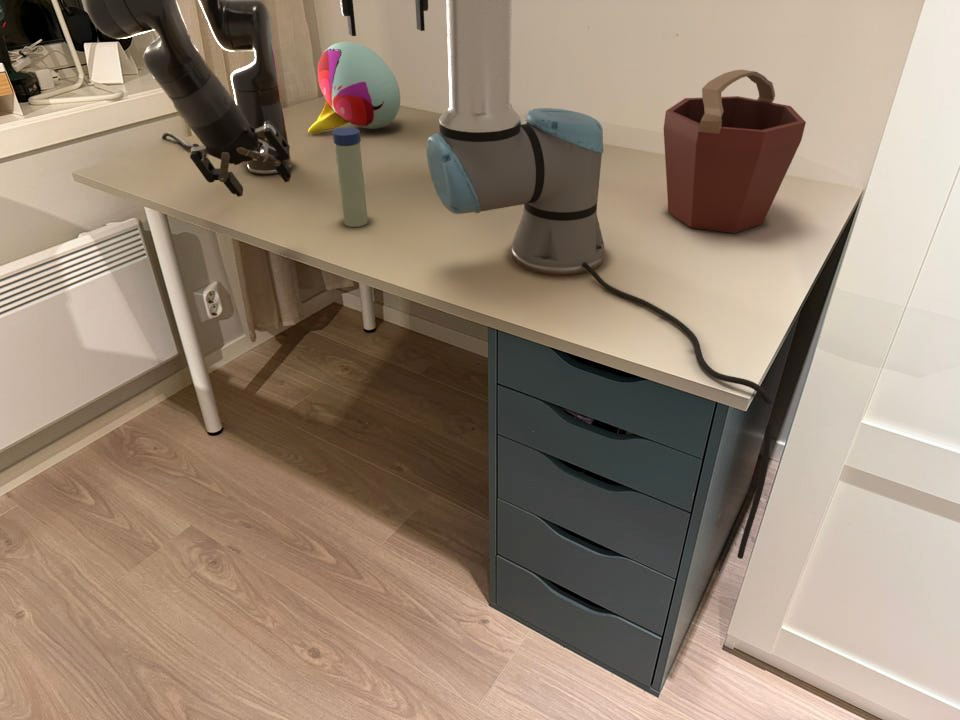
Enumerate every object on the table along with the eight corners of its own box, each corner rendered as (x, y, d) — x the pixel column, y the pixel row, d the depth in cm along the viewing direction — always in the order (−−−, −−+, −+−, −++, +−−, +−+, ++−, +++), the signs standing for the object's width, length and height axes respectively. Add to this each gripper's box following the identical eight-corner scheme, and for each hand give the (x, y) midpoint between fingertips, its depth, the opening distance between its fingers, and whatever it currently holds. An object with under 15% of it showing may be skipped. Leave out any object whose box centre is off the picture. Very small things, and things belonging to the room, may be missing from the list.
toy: (277, 110, 181) (275, 51, 163) (352, 72, 191) (358, 13, 173) (336, 175, 178) (341, 122, 160) (410, 134, 188) (421, 79, 170)
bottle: (346, 217, 132) (335, 130, 123) (369, 217, 132) (360, 130, 123) (342, 227, 128) (331, 137, 119) (366, 226, 128) (356, 137, 119)
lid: (335, 137, 124) (334, 127, 123) (362, 136, 124) (361, 127, 123) (331, 145, 120) (329, 135, 119) (358, 145, 120) (357, 135, 119)
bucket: (710, 250, 119) (740, 96, 105) (622, 208, 134) (638, 69, 120) (804, 218, 129) (843, 75, 115) (713, 183, 145) (736, 53, 131)
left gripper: (253, 76, 103) (304, 158, 117) (167, 104, 106) (227, 181, 119) (249, 109, 99) (303, 190, 113) (160, 138, 101) (223, 213, 115)
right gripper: (437, -101, 131) (441, 24, 143) (302, -99, 123) (318, 33, 135) (451, -100, 125) (454, 30, 137) (310, -98, 117) (326, 40, 129)
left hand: (264, 185), depth 116 cm, fingers open, 8 cm apart
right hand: (387, 32), depth 136 cm, fingers open, 13 cm apart
